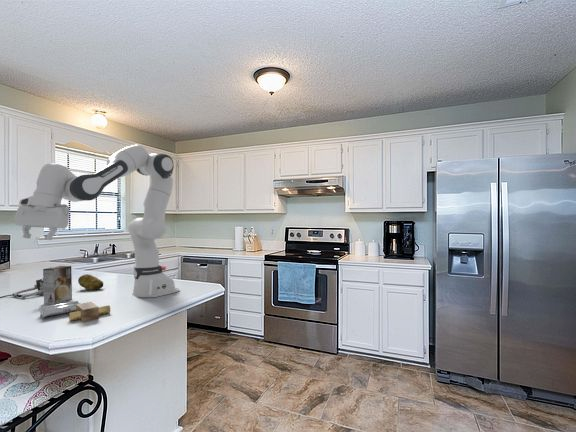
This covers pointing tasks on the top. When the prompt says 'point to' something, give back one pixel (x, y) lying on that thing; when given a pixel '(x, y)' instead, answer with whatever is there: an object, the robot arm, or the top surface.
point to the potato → (90, 282)
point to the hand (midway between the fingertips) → (37, 239)
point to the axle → (77, 314)
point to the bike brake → (38, 286)
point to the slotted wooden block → (88, 311)
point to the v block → (58, 310)
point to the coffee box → (57, 284)
